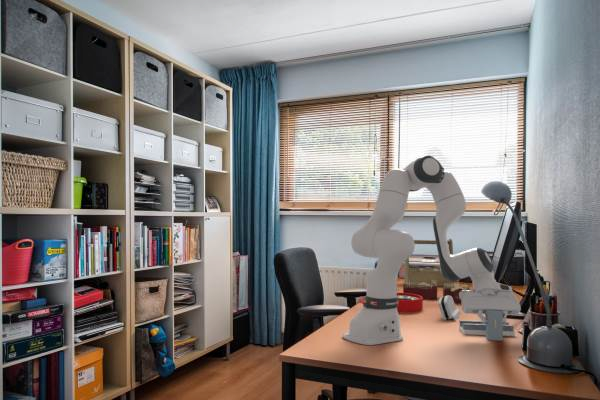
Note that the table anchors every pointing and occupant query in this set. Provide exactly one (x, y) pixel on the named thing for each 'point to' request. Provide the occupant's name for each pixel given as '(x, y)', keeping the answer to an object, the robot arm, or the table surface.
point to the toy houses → (434, 290)
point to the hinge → (448, 308)
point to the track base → (482, 328)
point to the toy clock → (409, 303)
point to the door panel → (494, 325)
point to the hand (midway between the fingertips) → (494, 323)
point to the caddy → (426, 270)
